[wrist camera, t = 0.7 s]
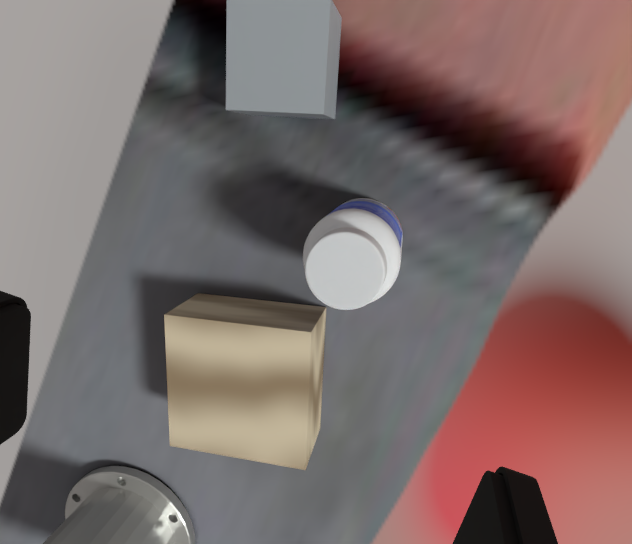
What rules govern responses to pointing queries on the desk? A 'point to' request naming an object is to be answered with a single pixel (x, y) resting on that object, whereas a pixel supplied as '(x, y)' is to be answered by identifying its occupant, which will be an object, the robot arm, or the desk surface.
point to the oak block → (245, 377)
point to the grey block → (282, 57)
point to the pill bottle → (353, 254)
